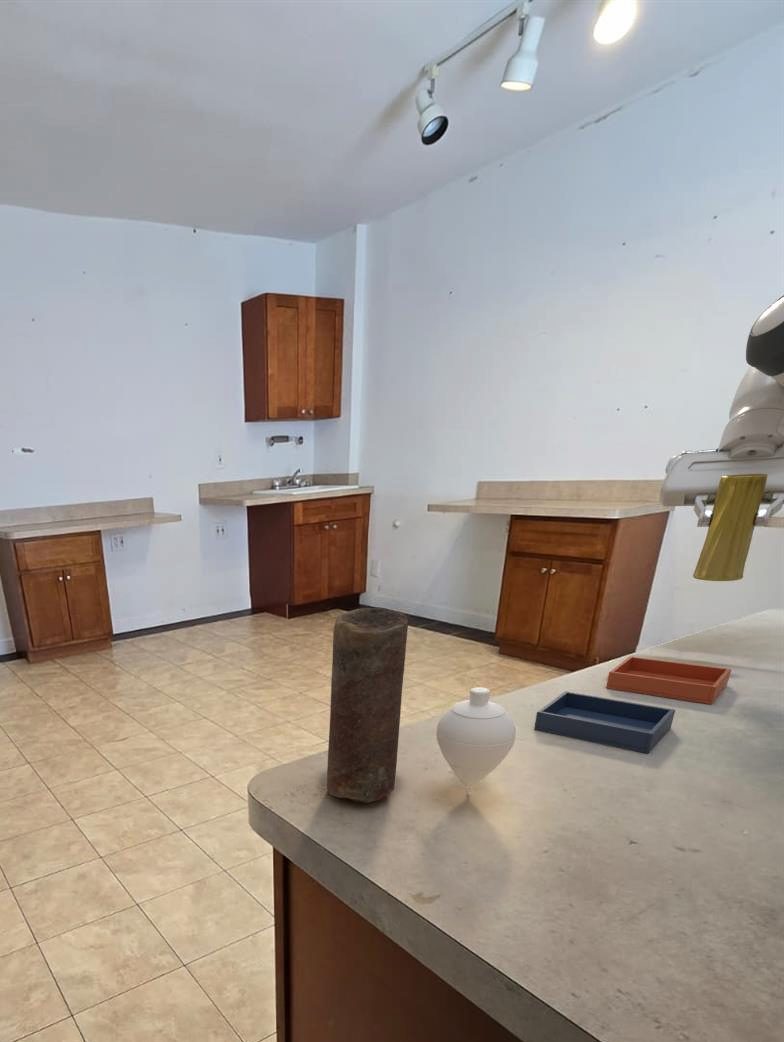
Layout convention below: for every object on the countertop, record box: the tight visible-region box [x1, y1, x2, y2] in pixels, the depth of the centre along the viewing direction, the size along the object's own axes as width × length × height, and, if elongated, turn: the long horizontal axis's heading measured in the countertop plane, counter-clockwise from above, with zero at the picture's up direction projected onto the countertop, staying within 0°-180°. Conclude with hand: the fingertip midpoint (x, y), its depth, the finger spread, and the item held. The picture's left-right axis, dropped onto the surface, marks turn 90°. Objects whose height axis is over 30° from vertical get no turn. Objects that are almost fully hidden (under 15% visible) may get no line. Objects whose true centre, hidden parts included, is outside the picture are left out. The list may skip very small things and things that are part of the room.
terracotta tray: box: [605, 656, 732, 705], centre depth 94 cm, size 13×10×2 cm
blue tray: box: [534, 691, 676, 754], centre depth 82 cm, size 13×10×2 cm
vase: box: [692, 474, 768, 582], centre depth 94 cm, size 6×6×14 cm
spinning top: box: [435, 686, 517, 795], centre depth 67 cm, size 8×8×12 cm
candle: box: [326, 607, 409, 804], centre depth 67 cm, size 8×7×20 cm
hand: (731, 524), depth 93 cm, fingers closed on vase, 5 cm apart
